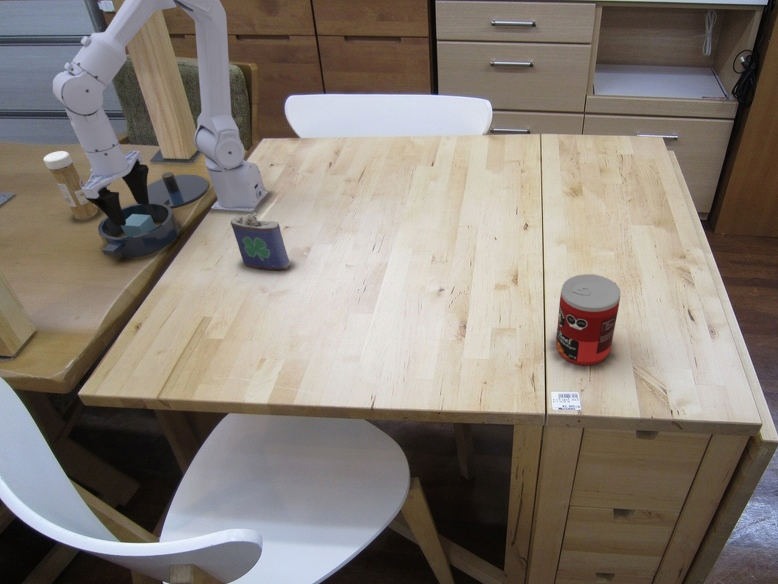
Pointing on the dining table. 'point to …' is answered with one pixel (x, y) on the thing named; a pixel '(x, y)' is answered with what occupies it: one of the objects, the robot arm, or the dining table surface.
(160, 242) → the pot
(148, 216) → the blue cube
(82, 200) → the sprinkles bottle
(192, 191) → the lid
